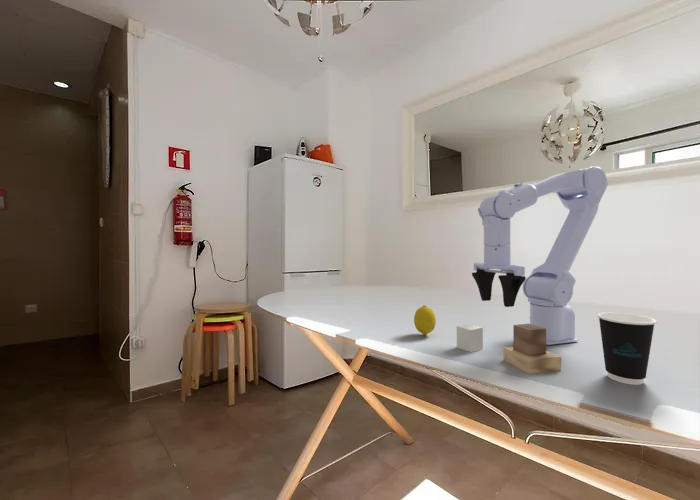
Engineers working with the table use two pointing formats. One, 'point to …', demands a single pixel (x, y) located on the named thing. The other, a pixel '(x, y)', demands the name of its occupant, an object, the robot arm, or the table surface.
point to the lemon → (424, 320)
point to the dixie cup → (626, 345)
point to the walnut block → (529, 339)
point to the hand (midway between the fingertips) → (497, 303)
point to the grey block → (469, 337)
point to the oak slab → (533, 361)
